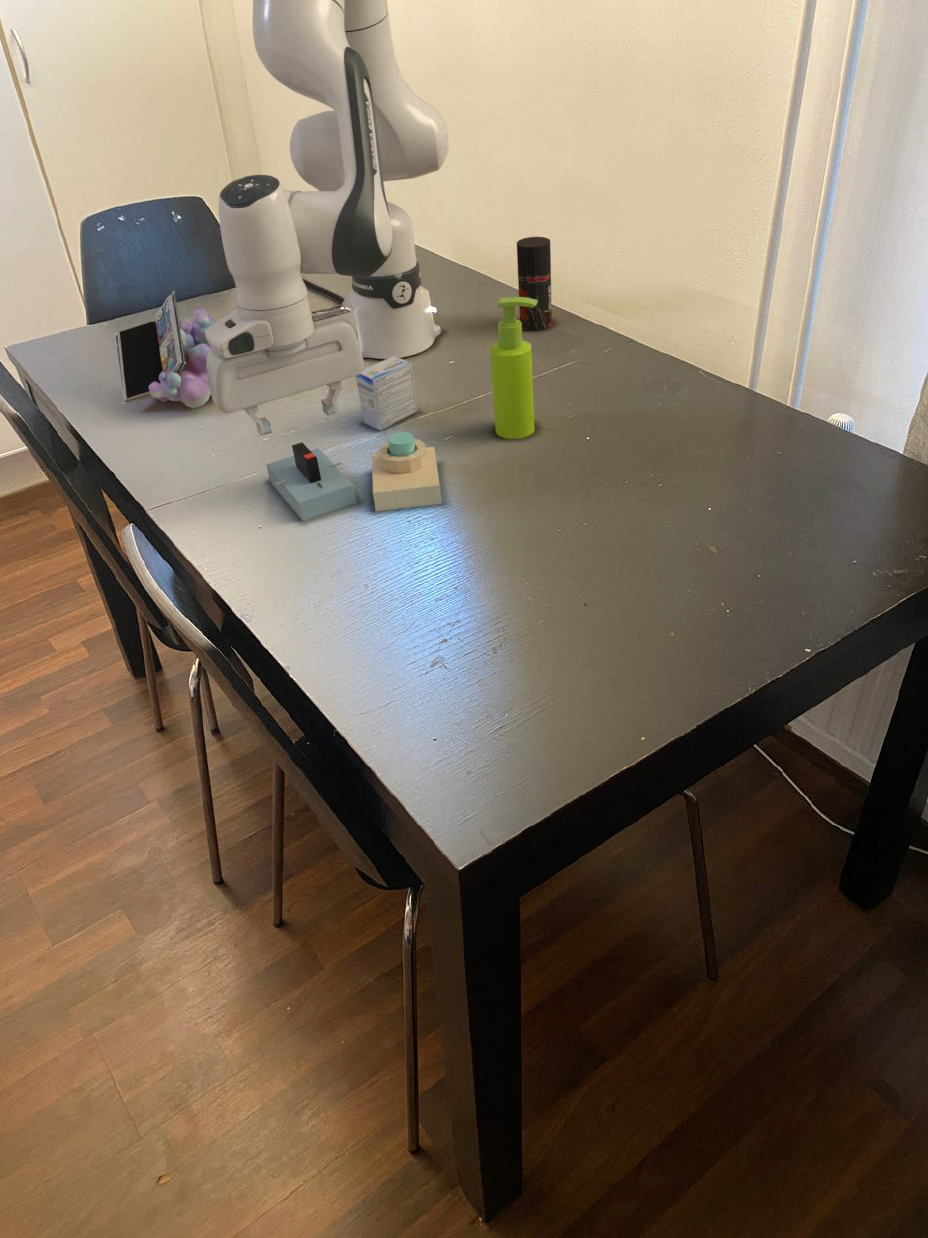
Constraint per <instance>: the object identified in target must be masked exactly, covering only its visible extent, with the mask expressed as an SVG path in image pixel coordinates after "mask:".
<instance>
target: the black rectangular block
mask: <svg viewBox="0 0 928 1238" xmlns="http://www.w3.org/2000/svg"><path fill="white" fill-rule="evenodd" d="M291 449H292V452H293V456H294V458H295V463H296V467H297V468H298V470H299V471H300V472H301V473H302V474H303V475H304V476H305V477H306V478H307V480H308V481H309V482H310V483H313V482H316V481H319V480H321V475H320V471H319V466H318V461H317V457H316V456H315V455H314V454H313V453H312V452H311V451H310V450H311V449H309V447H308V446H306V444H304V442H302V441H301V442H298V443H295V444H292V445H291Z"/></svg>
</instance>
